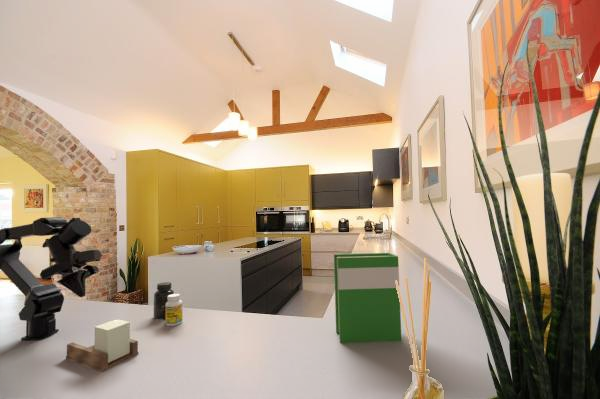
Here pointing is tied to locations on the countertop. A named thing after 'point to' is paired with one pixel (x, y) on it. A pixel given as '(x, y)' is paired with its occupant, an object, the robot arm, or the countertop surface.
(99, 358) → the wooden tray holder
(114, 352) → the sage block
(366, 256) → the hardback book
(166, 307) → the supplement bottle
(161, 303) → the supplement bottle
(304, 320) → the countertop surface
